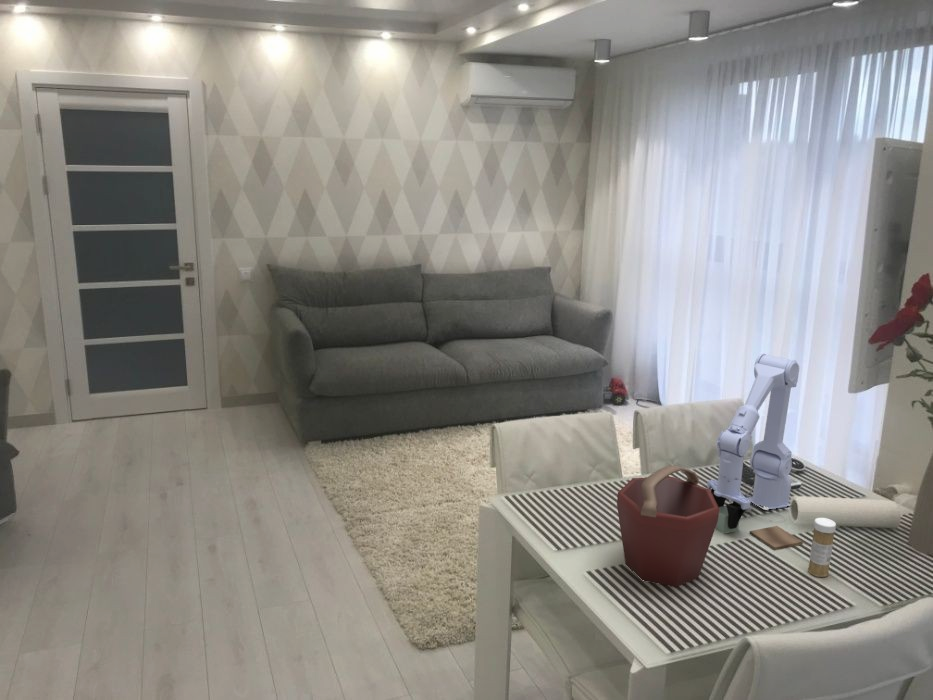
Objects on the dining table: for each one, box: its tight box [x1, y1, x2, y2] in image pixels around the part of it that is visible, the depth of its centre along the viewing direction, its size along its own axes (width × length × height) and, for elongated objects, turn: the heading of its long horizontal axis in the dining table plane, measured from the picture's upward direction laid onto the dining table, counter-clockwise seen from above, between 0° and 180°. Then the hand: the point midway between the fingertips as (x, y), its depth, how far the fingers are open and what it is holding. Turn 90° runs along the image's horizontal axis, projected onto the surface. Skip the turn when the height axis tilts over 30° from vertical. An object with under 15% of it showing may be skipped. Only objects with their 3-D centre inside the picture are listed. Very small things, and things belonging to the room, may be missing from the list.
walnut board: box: [749, 525, 804, 551], centre depth 192 cm, size 9×9×1 cm
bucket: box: [616, 464, 719, 588], centre depth 175 cm, size 24×22×25 cm
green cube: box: [715, 505, 740, 534], centre depth 197 cm, size 5×5×5 cm
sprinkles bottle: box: [807, 517, 837, 578], centre depth 174 cm, size 5×5×13 cm
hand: (724, 522), depth 197 cm, fingers open, 5 cm apart
